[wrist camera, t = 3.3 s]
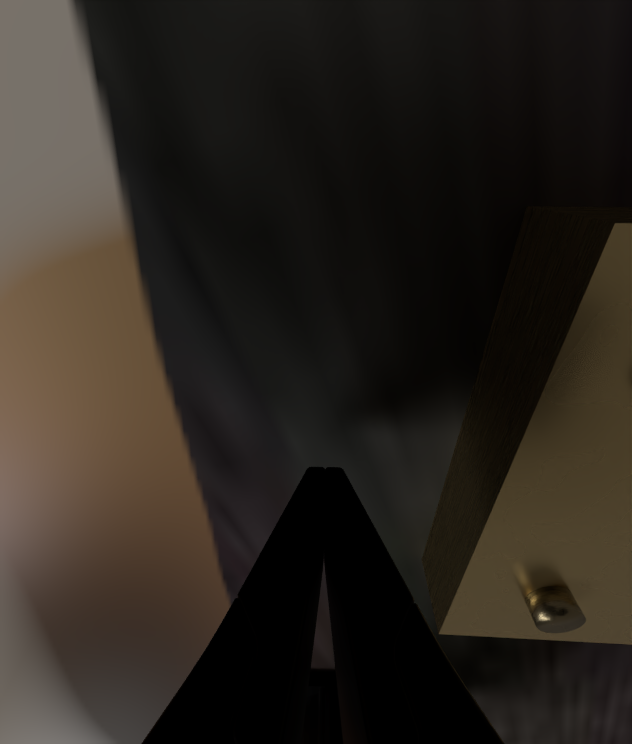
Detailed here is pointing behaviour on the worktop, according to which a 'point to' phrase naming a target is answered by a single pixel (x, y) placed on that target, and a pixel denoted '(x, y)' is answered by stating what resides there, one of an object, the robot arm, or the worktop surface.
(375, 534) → the robot arm
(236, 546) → the worktop surface
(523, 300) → the brass leaf
